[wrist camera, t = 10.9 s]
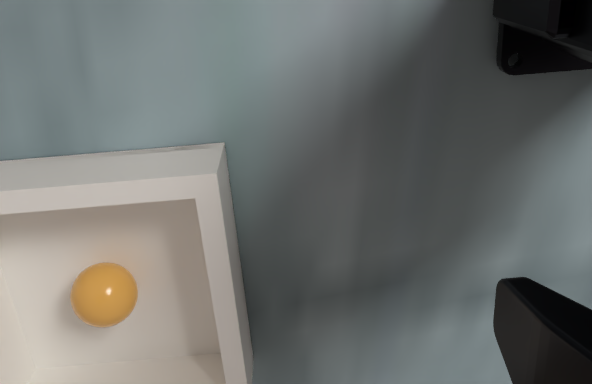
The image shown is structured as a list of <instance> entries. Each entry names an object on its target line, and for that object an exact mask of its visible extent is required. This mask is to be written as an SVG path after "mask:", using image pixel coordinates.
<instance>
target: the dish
mask: <svg viewBox="0 0 592 384" xmlns="http://www.w3.org/2000/svg"><path fill="white" fill-rule="evenodd" d="M253 358H254V357H253V350H252V342H251V335H250V327H249V320H248V313H247V305H246V298H245V290H244V283H243V276H242V268H241V261H240V253H239V246H238V239H237V231H236V224H235V216H234V209H233V201H232V194H231V187H230V179H229V172H228V164H227V157H226V150H225V142H224V143H212V144H200V145H188V146H176V147H164V148H152V149H140V150H128V151H116V152H104V153H92V154H80V155H68V156H56V157H43V158H31V159H19V160H7V161H0V384H252V378H253Z"/></svg>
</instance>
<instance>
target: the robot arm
mask: <svg viewBox="0 0 592 384" xmlns="http://www.w3.org/2000/svg"><path fill="white" fill-rule="evenodd" d="M493 16H494V17H495V18H496V19H497V20H498V21H499V33H498V46H497V66H498V67H499V69H500V70H502V71H503V72H505V73H507V74H509V75H523V74H535V73H547V72H559V71H571V70H583V69H592V0H494V2H493ZM514 53H517V54H518V60H517V62H516V63H515V64H514V65H511V66H509V64H508V59H509V57H510V56H511V55H512V54H514ZM493 326H494V333H495V337H496V340H497V342H498V345H499V348H500V351H501V353H502V356H503V359H504V361H505V364H506V367H507V370H508V372H509V375H510V378H511V380H512V383H513V384H592V310H591V309H589V308H587V307H585V306H583V305H581V304H579V303H577V302H575V301H573V300H571V299H569V298H567V297H565V296H563V295H561V294H559V293H557V292H555V291H553V290H551V289H549V288H547V287H545V286H543V285H541V284H539V283H537V282H535V281H533V280H531V279H529V278H527V277H516V278H505V279H501V280H500V281H499V282H498V284H497V288H496V297H495V309H494V320H493Z"/></svg>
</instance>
